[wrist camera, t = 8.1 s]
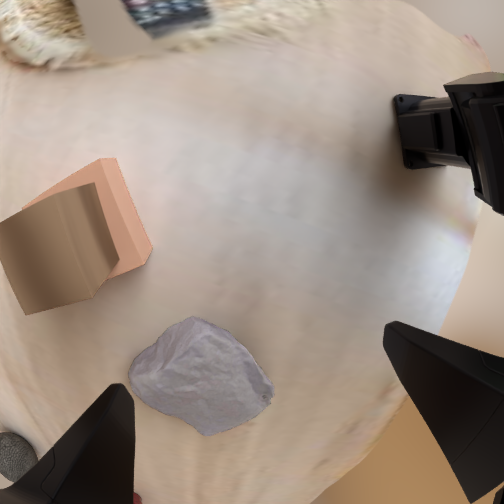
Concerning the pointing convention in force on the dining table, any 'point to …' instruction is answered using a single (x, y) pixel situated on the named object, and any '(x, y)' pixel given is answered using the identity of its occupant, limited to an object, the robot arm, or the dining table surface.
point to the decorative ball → (15, 456)
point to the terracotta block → (112, 211)
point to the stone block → (201, 377)
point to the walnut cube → (57, 250)
